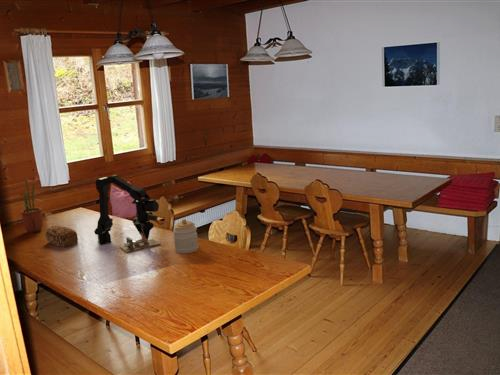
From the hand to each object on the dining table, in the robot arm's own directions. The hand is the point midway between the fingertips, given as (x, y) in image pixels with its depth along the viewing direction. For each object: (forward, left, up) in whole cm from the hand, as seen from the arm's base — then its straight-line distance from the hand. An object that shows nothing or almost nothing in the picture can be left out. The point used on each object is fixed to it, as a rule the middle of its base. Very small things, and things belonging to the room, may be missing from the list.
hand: (144, 237), depth 278 cm
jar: (+15, -24, -5) cm, 29 cm away
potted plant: (-46, +82, -5) cm, 94 cm away
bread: (-37, +43, -6) cm, 57 cm away
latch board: (-3, 0, -5) cm, 6 cm away
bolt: (-5, 0, -3) cm, 6 cm away
